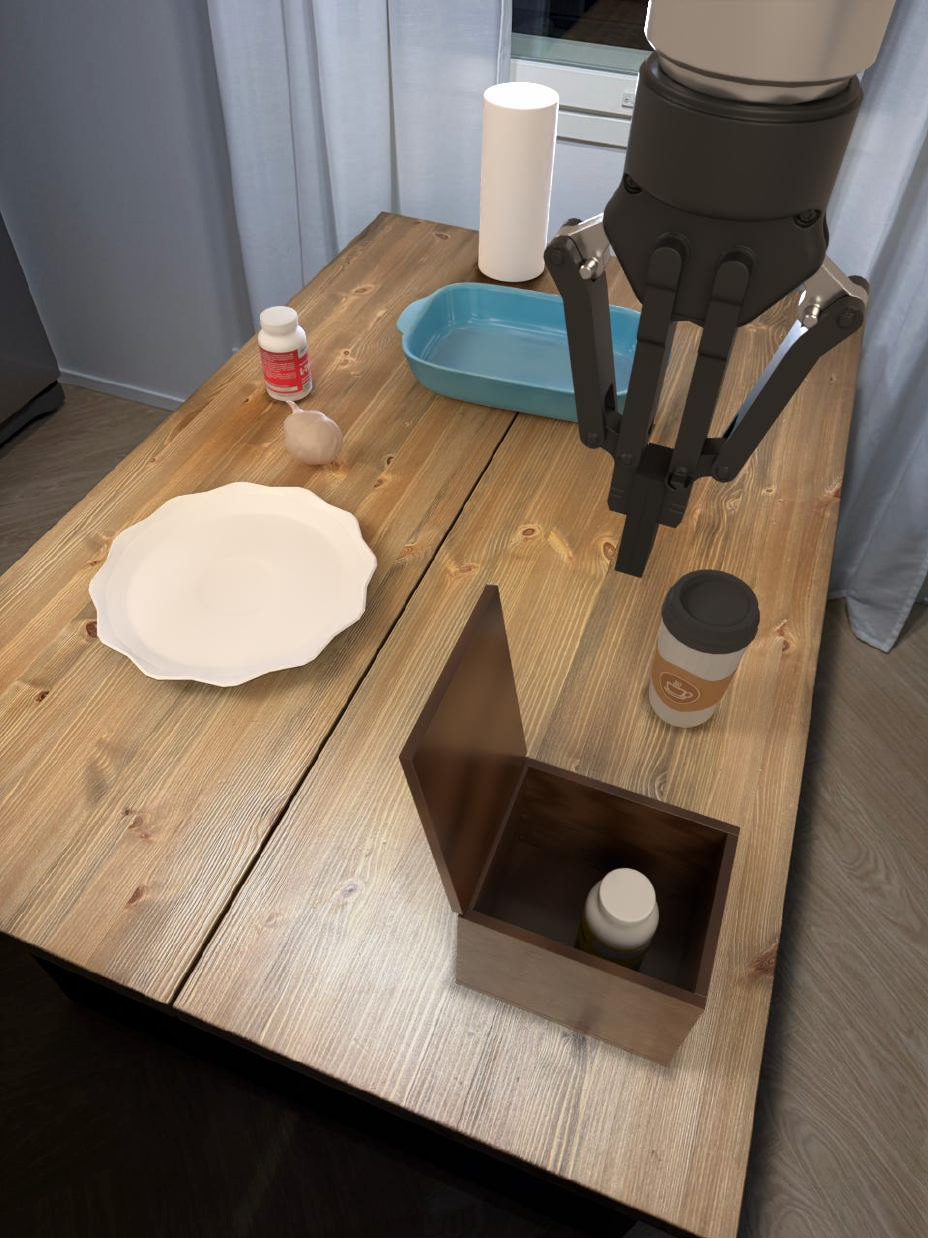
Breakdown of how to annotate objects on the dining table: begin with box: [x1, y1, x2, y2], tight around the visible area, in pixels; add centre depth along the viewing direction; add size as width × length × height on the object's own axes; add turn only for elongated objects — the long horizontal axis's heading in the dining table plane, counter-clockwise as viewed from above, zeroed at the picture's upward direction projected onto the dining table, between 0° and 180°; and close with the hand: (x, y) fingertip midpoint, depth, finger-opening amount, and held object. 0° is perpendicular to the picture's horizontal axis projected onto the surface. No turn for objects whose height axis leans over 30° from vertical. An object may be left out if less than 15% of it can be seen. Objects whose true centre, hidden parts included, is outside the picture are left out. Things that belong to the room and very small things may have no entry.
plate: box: [88, 481, 378, 689], centre depth 95 cm, size 29×29×2 cm
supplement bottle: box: [577, 868, 659, 971], centre depth 67 cm, size 5×5×10 cm
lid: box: [397, 583, 528, 915], centre depth 57 cm, size 18×14×1 cm
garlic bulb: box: [282, 400, 344, 466], centre depth 108 cm, size 7×6×8 cm
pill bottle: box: [257, 305, 313, 402], centre depth 116 cm, size 6×6×11 cm
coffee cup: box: [648, 568, 761, 729], centre depth 81 cm, size 8×8×15 cm
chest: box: [455, 755, 741, 1068], centre depth 67 cm, size 17×14×13 cm
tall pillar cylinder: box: [477, 81, 560, 283], centre depth 135 cm, size 11×11×25 cm
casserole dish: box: [396, 282, 672, 423], centre depth 120 cm, size 37×22×7 cm, turn 72°
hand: (634, 557), depth 48 cm, fingers closed
